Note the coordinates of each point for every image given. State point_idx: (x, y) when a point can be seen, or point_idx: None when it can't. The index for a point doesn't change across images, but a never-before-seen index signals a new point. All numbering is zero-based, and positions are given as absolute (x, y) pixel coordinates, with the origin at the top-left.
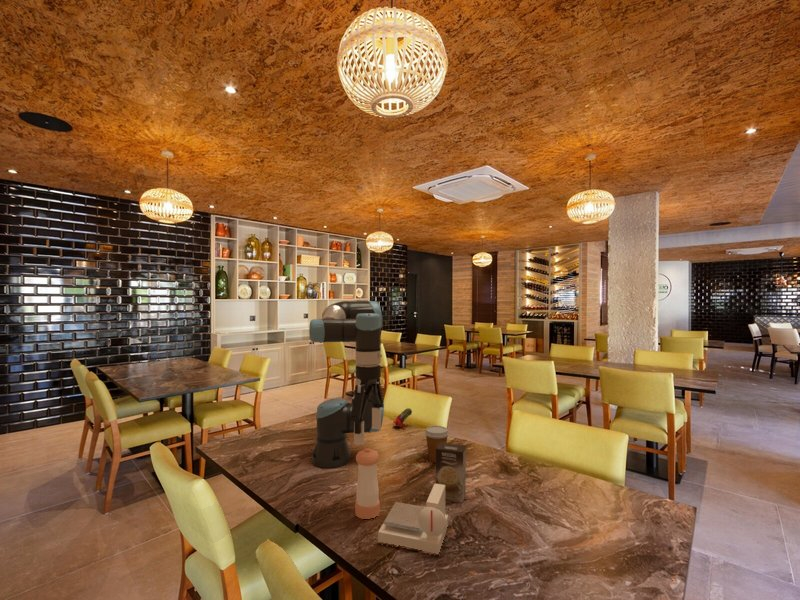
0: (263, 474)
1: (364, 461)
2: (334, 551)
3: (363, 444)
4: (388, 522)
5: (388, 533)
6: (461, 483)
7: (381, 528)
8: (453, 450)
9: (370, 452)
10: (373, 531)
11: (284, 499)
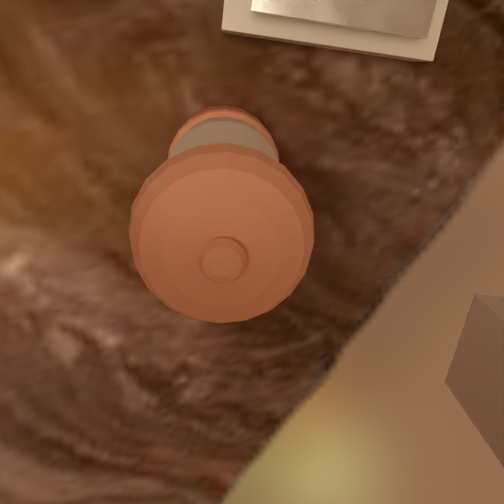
0: None
1: (313, 238)
2: (458, 205)
3: (494, 297)
4: (432, 12)
5: (443, 10)
6: None
7: (409, 51)
8: None
9: (240, 226)
10: (342, 100)
11: (201, 458)
